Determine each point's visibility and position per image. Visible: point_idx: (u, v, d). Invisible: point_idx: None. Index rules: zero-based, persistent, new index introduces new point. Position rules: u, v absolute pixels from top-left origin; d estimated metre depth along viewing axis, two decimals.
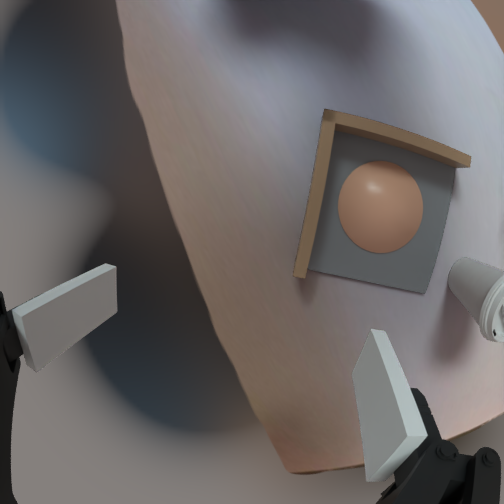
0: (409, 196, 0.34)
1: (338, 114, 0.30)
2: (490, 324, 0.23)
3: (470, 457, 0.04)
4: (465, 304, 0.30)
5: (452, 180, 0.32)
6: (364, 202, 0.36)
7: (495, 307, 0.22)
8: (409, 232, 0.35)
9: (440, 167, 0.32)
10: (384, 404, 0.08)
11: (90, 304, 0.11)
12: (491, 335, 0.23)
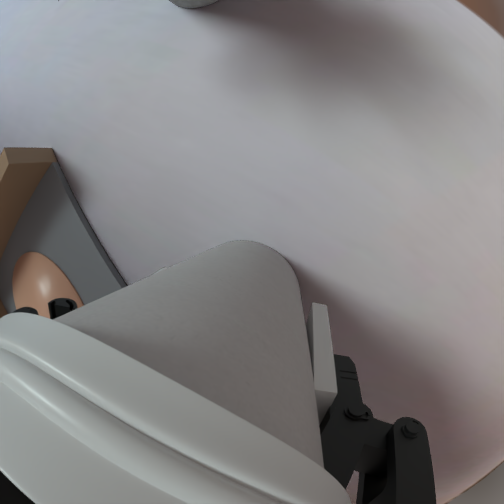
0: (46, 279, 0.19)
1: None
2: None
3: (389, 428, 0.06)
4: None
5: (59, 183, 0.17)
6: None
7: None
8: None
9: (40, 193, 0.17)
10: None
11: None
12: None
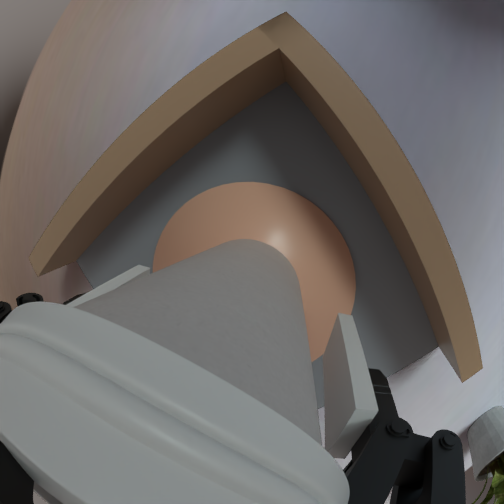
0: (315, 319, 0.17)
1: (304, 39, 0.09)
2: None
3: (427, 440, 0.06)
4: None
5: (414, 359, 0.16)
6: None
7: (49, 496, 0.04)
8: None
9: (418, 325, 0.16)
10: (342, 381, 0.09)
11: None
12: None
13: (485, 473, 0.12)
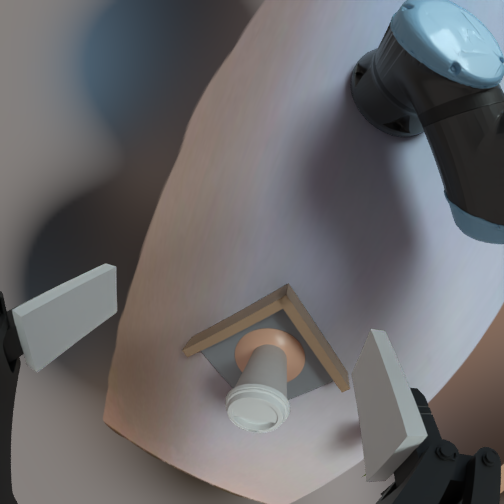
0: (291, 367, 0.48)
1: (290, 305, 0.41)
2: None
3: (470, 457, 0.04)
4: None
5: (330, 381, 0.48)
6: None
7: (232, 421, 0.35)
8: None
9: None
10: (384, 404, 0.08)
11: (90, 304, 0.11)
12: (255, 431, 0.35)
13: None
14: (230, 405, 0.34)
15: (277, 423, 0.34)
